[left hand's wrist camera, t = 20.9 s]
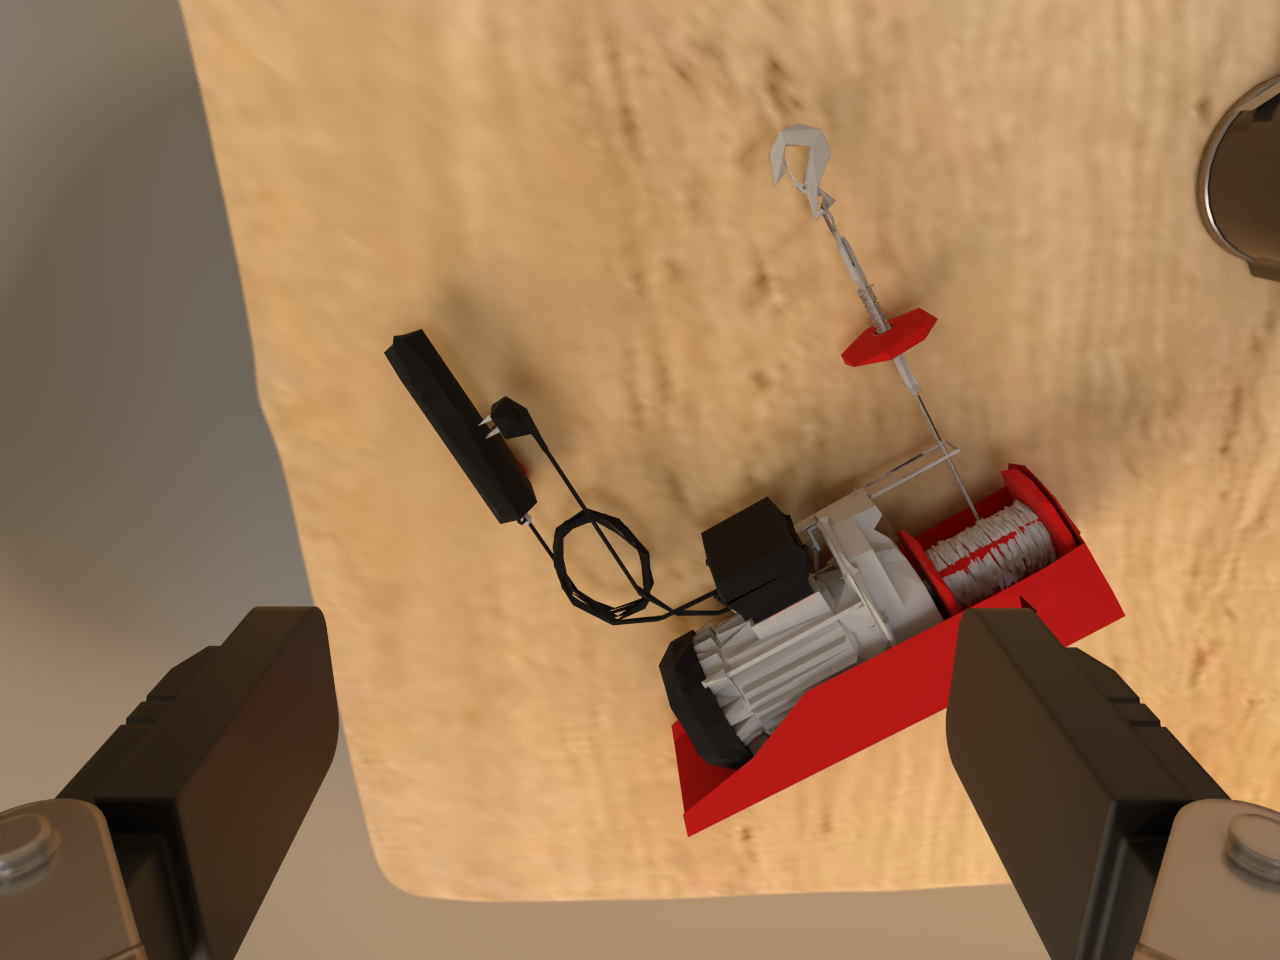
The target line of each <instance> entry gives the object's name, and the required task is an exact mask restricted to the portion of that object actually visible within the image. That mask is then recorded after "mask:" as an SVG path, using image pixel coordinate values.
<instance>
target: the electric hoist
mask: <svg viewBox="0 0 1280 960" xmlns="http://www.w3.org/2000/svg"><path fill="white" fill-rule="evenodd" d="M793 145H802V146H809V152H808V158H807V164H806V169H805V175H804V176H803V177H804V181H803V183H799V182H796V180H795V178H794V176H793V174H792V172H791V170H790V168H789V166H788V164H787V162H786V161H785V146H793ZM769 153H770V160H771V168H772V175H773V183H774V187H775V186H776V184H777V183H778V182H779V180H780V179H781V178H782V176H783V175H784V166H786V168H787V170H788V172H789V174H790V176H791V178H792V180H793V182H794V185H795V187H796V188H797V189H799V190H800V191H801V192H803V193H804V194H805V195H806V196H807V197H808V201H809V204H810V207H811V211H812V214H813V217H814V220H816V219H817V218H819V217H820V216H822V215H823V217H824V219H825V221H826V222H827V224H828V226H829V228H830V230H831V232H832V234H833V236H834V238H835V240H836V241H837V243H836V245H837V247H838V250H839V252H840V254H841V256H842V259H843V261H844V263H845V266H846V268H847V270H848V273H849V275H850V277H851V279H852V281H853V282H854V283H855V284H856V286H857V287H858V288H859V289H860V290H858V291H857V292H856V293H855V294H854V295H857V294H859V296H860V298H861V299H862V300H863V298H864V297H865V298H864V300H863V301H861V302H864V303H863V304H865V305H864V306H866V307H865V308H867V312H869V314H870V315H869V317H870V316H872V317H873V316H874V318H875V319H872V317H871V318H870V319H872V320H874V321H875V320H876V322H874V321H873V323H874V324H873V325H875V324H876V325H875V326H873V327H871V328H868V329H866V330H865V331H864V332H863V333H862V334H861V335H860V336H859V337H858V338H857V339H856V340H855V341H854V342H853V343H852V344H851V345H850V346H849V347H848V348H847V349H846V350H845V351H844V352H843V353H842V354H841V356H842V358H843V360H844V362H845V364H847V365H850V366H853V367H856V366H862V365H867V364H872V363H877V362H882V361H887V360H892V359H893V360H894V363H895V365H896V367H897V370H898V372H899V374H900V377H901V379H902V381H903V384H904V385H905V387H906V388H907V389H908V390H909V391H910V393H911V394H912V395H913V396H915V398H916V400H917V402H918V404H919V406H920V408H921V410H922V412H923V414H924V416H925V418H926V420H927V422H928V424H929V426H930V428H931V430H932V432H933V434H934V436H935V438H936V440H937V442H938V444H937V445H935V446H933V447H932V448H930V449H928V450H926V451H925V452H923V453H921V454H919V455H918V456H916V457H914V458H912V459H911V460H909V461H907V462H905V463H904V464H902V465H900V466H898V467H897V468H895V469H893V470H891V471H890V472H888V473H886V474H884V475H883V476H881V477H879V478H877V479H876V480H874V481H872V482H870V483H869V484H867V485H865V486H863V487H862V488H860V489H858V490H857V489H855V488H854V487H853V491H854V492H852V493H851V494H849V495H847V496H845V497H843V498H841V499H840V500H838V501H836V502H834V503H832V504H831V505H829V506H827V507H825V508H824V509H822V510H820V511H818V512H816V513H815V514H813V515H811V516H809V517H807V518H806V519H804V520H802V521H800V522H798V523H797V524H795V525H793V522H792V519H790V516H791V515H785V514H783V513H782V512H781V511H780V510H779V509H778V508H777V507H776V505H775V504H774V503H773V502H772V501H771V500H770V499H769V498H768V497H766V498H764V499H762V500H761V501H759V502H757V503H755V504H753V505H751V506H750V507H748V508H746V509H744V510H742V511H741V512H739V513H737V514H735V515H733V516H731V517H730V518H728V519H726V520H724V521H722V522H721V523H719V524H717V525H715V526H713V527H712V528H710V529H708V530H706V531H704V532H702V533H701V535H702V540H703V544H704V549H705V553H706V558H707V559H706V565H708V566H709V568H710V570H711V573H712V576H713V578H714V581H715V584H716V588H717V589H715V590H713V591H711V592H709V593H707V594H705V595H703V596H701V597H699V598H697V599H695V600H693V601H691V602H689V603H687V604H685V605H683V606H681V607H679V608H677V609H675V610H673V609H671V608H670V607H668V606H667V605H665V604H664V603H663V602H661V601H660V600H658V599H657V598H655V597H654V596H652V595H651V594H650V591H651V588H652V586H653V584H654V581H653V577H652V573H651V569H650V558H649V551H648V550H647V549H646V548H645V547H644V546H643V545H642V544H641V543H640V541H639V540H638V539H637V538H636V537H635V536H634V534H633V533H632V532H631V531H630V530H629V528H628V527H627V526H625V525H624V524H623V522H622V521H621V520H620V519H619V518H616V517H612V516H609V515H607V514H603V513H600V512H597V511H593V510H590V509H587V508H586V506H585V505H584V503H583V502H582V500H581V499H580V497H579V496H578V494H577V493H576V491H575V490H574V488H573V487H572V485H571V484H570V482H569V480H568V479H567V477H566V476H565V474H564V473H563V471H562V470H561V468H560V467H559V465H558V464H557V462H556V461H555V459H554V458H553V456H552V455H551V453H550V451H549V450H548V447H547V445H546V444H545V442H544V440H543V439H542V437H541V435H540V433H539V431H538V429H537V427H536V426H535V424H534V422H533V420H532V418H531V416H530V414H529V412H528V410H527V409H526V408H525V407H523V406H521V405H520V404H518V403H516V402H515V401H513V400H511V399H509V398H508V397H506V396H505V397H503V398H502V399H500V400H499V401H497V402H496V403H494V404H493V405H492V408H491V414H490V415H489V416H488V417H487V418H486V419H484V420H483V418H482V417H481V416H480V414H479V413H478V411H477V410H476V408H475V407H474V405H473V404H472V402H471V401H470V399H469V398H468V396H467V395H466V394H465V392H464V391H463V389H462V388H461V386H460V385H459V383H458V382H457V380H456V379H455V377H454V376H453V374H452V373H451V371H450V370H449V369H448V367H447V366H446V364H445V363H444V361H443V360H442V358H441V357H440V355H439V354H438V352H437V351H436V349H435V348H434V346H433V345H432V344H431V342H430V341H429V339H428V338H427V336H426V335H425V333H424V332H423V330H422V329H421V330H417V331H414V332H411V333H408V334H405V335H399V336H394V339H393V345H392V346H391V347H389V348H388V349H387V350H386V351H385V352H384V354H385V355H386V357H387V359H388V360H389V362H390V363H391V365H392V367H393V368H394V370H395V372H396V373H397V375H398V377H399V378H400V380H401V381H402V383H403V384H404V386H405V387H406V389H407V390H408V391H409V393H410V394H411V396H412V397H413V399H414V400H415V401H416V403H417V404H418V406H419V407H420V409H421V410H422V411H423V413H424V414H425V416H426V417H427V419H428V420H429V422H430V423H431V424H432V426H433V427H434V429H435V430H436V432H437V433H438V435H439V436H440V437H441V439H442V440H443V442H444V443H445V445H446V446H447V448H448V449H449V450H450V452H451V453H452V455H453V456H454V458H455V459H456V461H457V462H458V464H459V465H460V466H461V468H462V469H463V471H464V472H465V474H466V475H467V477H468V478H469V479H470V481H471V482H472V484H473V485H474V487H475V488H476V490H477V491H478V492H479V494H480V495H481V497H482V498H483V500H484V501H485V503H486V504H487V505H488V507H489V508H490V510H491V511H492V513H493V514H494V516H495V517H496V518H497V520H498V521H499V523H500V524H503V523H507V522H511V521H515V520H517V522H518V523H519V524H521V525H523V524H525V525H529V526H530V528H531V529H532V531H533V532H534V534H535V535H536V537H537V538H538V540H539V541H540V542H541V544H542V545H543V547H544V548H545V550H546V551H547V553H548V554H549V555H550V557H551V558H552V560H553V561H554V568H555V570H556V573H557V575H558V578H559V580H560V583H561V587H562V589H563V590H564V592H565V593H566V595H567V596H568V598H569V600H570V601H571V603H572V604H573V605H574V606H576V607H578V608H580V609H582V610H584V611H586V612H588V613H590V614H592V615H594V616H596V617H598V618H600V619H601V620H603V621H605V622H607V623H609V624H611V625H621V624H633V623H644V622H655V621H660V620H663V619H666V618H668V617H670V616H672V615H674V614H675V615H677V616H694V615H721V614H723V613H726V612H728V611H730V610H732V611H734V612H735V613H738V614H737V615H735V616H733V617H731V618H729V619H727V620H725V621H724V622H722V623H720V624H718V625H716V626H714V625H713V623H712V622H711V621H710V622H709V623H707V624H706V625H705V626H703V627H702V628H700V629H699V630H697V631H696V632H694V631H693V630H691V631H690V632H688V633H686V634H684V635H683V636H681V637H679V638H677V639H675V640H674V641H672V642H670V644H669V646H668V648H667V650H666V652H665V654H664V656H663V658H662V660H661V662H660V664H659V668H660V671H661V675H662V678H663V682H664V685H665V689H666V692H667V696H668V700H669V704H670V708H671V709H672V711H673V712H674V714H675V716H676V717H677V719H678V720H677V721H676V722H675V723H674V724H673V725H672V732H673V738H674V744H675V751H676V758H677V764H678V771H679V778H680V785H681V792H682V799H683V806H684V812H685V813H684V814H683V816H684V821H685V825H686V830H687V834H688V837H690V836H692V835H694V834H696V833H698V832H700V831H702V830H704V829H706V828H708V827H710V826H712V825H714V824H716V823H718V822H720V821H722V820H724V819H726V818H728V817H730V816H732V815H734V814H736V813H738V812H740V811H742V810H744V809H746V808H748V807H750V806H752V805H754V804H756V803H758V802H760V801H762V800H764V799H766V798H767V797H769V796H771V795H773V794H775V793H777V792H779V791H781V790H783V789H785V788H787V787H789V786H791V785H793V784H795V783H797V782H799V781H801V780H803V779H805V778H807V777H809V776H811V775H813V774H815V773H817V772H819V771H821V770H823V769H825V768H827V767H829V766H831V765H833V764H835V763H837V762H839V761H841V760H843V759H845V758H847V757H849V756H851V755H853V754H855V753H857V752H859V751H861V750H863V749H865V748H867V747H869V746H871V745H873V744H875V743H877V742H879V741H881V740H883V739H885V738H887V737H889V736H891V735H893V734H895V733H897V732H899V731H901V730H903V729H905V728H907V727H909V726H911V725H913V724H915V723H917V722H919V721H921V720H923V719H925V718H927V717H929V716H931V715H933V714H935V713H937V712H939V711H941V710H943V709H945V708H947V705H948V698H949V691H950V684H951V677H952V670H953V662H954V655H955V648H956V641H957V634H958V627H959V622H960V619H961V616H962V614H963V613H964V611H965V610H966V609H968V608H1030V609H1032V610H1033V611H1034V612H1035V613H1036V614H1037V615H1038V616H1039V617H1040V619H1041V620H1042V621H1043V622H1044V623H1045V625H1046V626H1047V627H1048V628H1049V629H1050V630H1051V632H1052V633H1053V634H1054V635H1055V636H1056V637H1057V639H1058V640H1059V641H1060V642H1061V643H1062V645H1063V646H1064V647H1067V646H1069V645H1071V644H1073V643H1075V642H1076V641H1078V640H1080V639H1082V638H1084V637H1086V636H1088V635H1090V634H1092V633H1094V632H1096V631H1098V630H1099V629H1101V628H1103V627H1105V626H1107V625H1109V624H1111V623H1113V622H1115V621H1117V620H1119V619H1120V618H1122V617H1124V616H1125V614H1124V612H1123V610H1122V608H1121V606H1120V604H1119V603H1118V601H1117V599H1116V597H1115V595H1114V593H1113V591H1112V589H1111V588H1110V586H1109V584H1108V582H1107V581H1106V579H1105V577H1104V575H1103V574H1102V572H1101V570H1100V568H1099V567H1098V565H1097V563H1096V561H1095V560H1094V558H1093V556H1092V554H1091V553H1090V551H1089V549H1088V547H1087V546H1086V544H1085V542H1084V541H1083V539H1082V538H1081V536H1080V535H1079V534H1080V533H1081V532H1080V531H1079V530H1078V528H1077V527H1076V526H1075V524H1074V523H1073V522H1072V520H1071V519H1070V518H1069V517H1068V515H1067V514H1066V513H1065V511H1064V510H1063V509H1062V507H1061V505H1060V504H1059V502H1058V501H1057V499H1056V498H1055V497H1054V496H1053V495H1052V494H1051V493H1050V491H1049V490H1048V489H1047V488H1046V487H1045V486H1044V485H1043V484H1042V483H1041V482H1040V481H1039V480H1038V479H1037V478H1036V477H1035V476H1034V475H1033V474H1032V473H1031V471H1030V470H1029V469H1028V468H1027V467H1026V466H1025V465H1017V464H1008V470H1005V471H1001V473H1002V476H1003V478H1004V480H1005V483H1006V485H1007V486H1006V487H1004V488H1002V489H1001V490H999V491H997V492H995V493H994V494H992V495H990V496H988V497H986V498H985V499H983V500H981V501H979V502H977V503H976V504H974V505H973V504H972V502H971V500H970V498H969V496H968V494H967V492H966V490H965V488H964V485H963V483H962V481H961V479H960V477H959V475H958V473H957V471H956V469H955V467H954V465H953V463H952V461H951V459H950V457H951V456H953V455H954V454H956V453H958V452H960V450H959V449H958V448H956V447H955V446H954V445H952V444H951V443H949V442H948V441H946V440H944V441H941V439H940V437H939V435H938V433H937V431H936V429H935V427H934V425H933V423H932V421H931V419H930V417H929V415H928V413H927V411H926V409H925V407H924V404H923V402H922V400H921V398H920V396H919V394H918V392H920V391H921V390H920V387H919V384H918V382H917V380H916V378H915V376H914V374H913V372H912V370H911V368H910V366H909V364H908V362H907V360H906V358H905V356H904V355H903V352H905V351H907V350H908V349H910V348H911V347H913V346H915V345H916V344H918V343H919V342H921V341H923V340H924V339H925V338H926V337H927V335H928V334H929V332H930V330H931V329H932V327H933V326H934V324H935V323H936V321H937V318H936V317H934V316H932V315H931V314H929V313H927V312H926V311H924V310H922V309H921V308H917V309H915V310H912V311H910V312H908V313H905V314H903V315H900V316H898V317H895V318H893V319H890V320H888V321H887V320H886V317H885V315H884V314H883V312H880V311H882V310H881V309H882V308H880V307H881V306H879V304H878V303H879V302H877V298H875V297H876V296H874V295H875V294H874V295H873V296H871V295H872V293H873V292H874V291H872V289H871V287H872V286H873V285H874V284H873V285H869V286H868V283H867V280H866V278H865V275H864V273H863V271H862V269H861V267H860V265H859V263H858V261H857V259H856V257H855V254H854V252H853V250H852V248H851V246H850V244H849V243H848V242H847V240H846V239H845V237H842V238H841V236H840V234H839V232H838V230H837V228H836V225H835V222H834V218H833V216H832V215H831V213H830V212H829V210H828V208H829V207H830V206H831V205H832V204H833V203H834V202H835V201H836V200H835V199H833V198H832V197H831V196H829V195H828V194H827V193H825V192H824V191H823V190H821V189H820V188H819V187H817V186H818V184H819V182H820V180H821V177H822V175H823V173H824V170H825V168H826V166H827V163H828V161H829V159H830V156H831V154H832V153H831V151H830V148H829V146H828V144H827V142H826V139H825V137H824V135H823V133H822V130H820V129H817V128H813V127H809V126H806V125H802V124H795V125H793V126H791V127H789V128H786V129H784V130H782V131H780V133H779V135H778V137H777V139H776V141H775V143H774V145H773V147H772V148H771V150H770V152H769ZM821 195H823V198H822V203H821V209H820V210H819V211H818V196H821ZM826 212H827V213H826ZM827 214H828V215H829V217H830V218H831V220H832V224H833V226H832V224H831V222H830V220H829V218H828V216H827ZM826 217H827V218H826ZM827 219H828V220H827ZM869 288H870V289H869ZM868 289H869V290H868ZM870 290H871V291H870ZM868 291H870V292H868ZM871 292H872V293H871ZM861 293H863V294H861ZM870 293H871V294H870ZM860 294H861V295H862V296H861V295H860ZM863 295H864V296H863ZM872 297H873V298H872ZM865 299H866V300H865ZM873 299H874V300H873ZM872 300H873V301H872ZM874 301H875V302H874ZM865 302H866V303H865ZM874 303H875V304H874ZM876 303H877V304H876ZM866 304H868V305H866ZM877 305H878V306H877ZM867 306H869V307H867ZM876 306H877V308H876ZM878 307H879V308H878ZM868 308H870V309H868ZM879 309H880V310H879ZM868 310H869V311H868ZM870 310H871V311H870ZM878 310H879V311H878ZM871 312H872V313H871ZM879 312H880V313H879ZM872 314H873V315H872ZM880 314H881V316H883V317H884V318H883V317H881V316H880ZM882 318H883V319H882ZM883 320H884V321H883ZM491 420H493V422H494V423H495V425H496V426H497V427H496V426H495V425H494V426H493V428H492V429H491V430H490V429H489V427H488V426H487V424H486V422H488V421H491ZM499 432H501V433H502V435H503V436H504V437H505V439H510V438H515V437H519V436H524V435H528V434H532V435H533V437H534V438H535V439H536V441H537V443H538V444H539V446H540V447H541V449H542V450H543V451H544V453H546V455H547V456H548V458H549V459H550V461H551V462H552V464H553V465H554V467H555V468H556V470H557V471H558V473H559V474H560V476H561V477H562V479H563V480H564V482H565V483H566V485H567V486H568V488H569V490H570V491H571V493H572V494H573V496H574V497H575V499H576V500H577V502H578V503H579V505H580V506H581V508H582V509H583V510H582V511H580V512H579V513H577V514H576V515H574V516H573V517H572V518H570V519H569V520H567V521H565V522H564V523H563V524H561V525H560V526H558V527H557V528H556V531H555V535H554V543H553V553H552V552H551V550H550V549H549V547H548V546H547V545H546V543H545V542H544V540H543V539H542V537H541V536H540V535H539V533H538V532H537V530H536V529H535V527H534V526H533V524H532V523H531V516H530V515H529V514H528V513H527V512H528V511H529V510H530V509H531V508H532V507H533V506H534V505H535V504H536V503H537V500H536V497H535V494H534V491H533V488H532V485H531V482H530V481H529V479H528V478H527V476H526V471H525V469H524V467H523V466H522V464H520V463H518V462H517V460H516V458H515V457H514V455H513V454H512V452H511V450H510V449H509V447H508V446H507V444H506V442H505V441H504V439H503V438H502V436H501V434H500V433H499ZM945 443H947V444H948V445H950V446H951V447H953V448H954V449H955V450H954V451H953V452H951V453H949V454H948V453H947V451H946V449H945V447H944V444H945ZM938 447H940V448H941V450H942V452H943V454H944V456H943V457H941V458H940V459H938V460H936V461H934V462H932V463H930V464H928V465H927V466H925V467H923V468H921V469H919V470H917V471H915V472H913V473H912V474H910V475H908V476H906V477H904V478H902V479H900V480H899V481H897V482H895V483H893V484H891V485H889V486H887V487H886V488H884V489H882V490H880V491H878V492H876V493H874V494H872V495H870V493H869V492H868V491H867V490H866V489H865V488H866V487H868V486H870V485H872V484H873V483H875V482H877V481H879V480H881V479H882V478H884V477H886V476H888V475H890V474H891V473H893V472H895V471H897V470H899V469H900V468H902V467H904V466H906V465H908V464H909V463H911V462H913V461H915V460H917V459H918V458H920V457H922V456H924V455H926V454H927V453H929V452H931V451H933V450H935V449H936V448H938ZM945 459H946V460H947V462H948V464H949V466H950V468H951V470H952V472H953V474H954V476H955V478H956V480H957V482H958V484H959V486H960V488H961V490H962V492H963V494H964V496H965V498H966V500H967V502H968V504H969V506H970V507H968V508H967V509H965V510H963V511H961V512H960V513H958V514H956V515H954V516H952V517H951V518H949V519H947V520H945V521H943V522H942V523H940V524H938V525H936V526H934V527H933V528H931V529H929V530H927V531H926V532H924V533H922V534H920V535H918V536H917V537H915V538H913V537H912V536H911V535H910V534H908V533H907V532H906V531H905V530H904V529H903V530H901V531H899V532H898V533H897V536H898V537H899V539H900V541H901V542H902V545H900V546H899V547H898V546H897V544H896V543H895V542H894V541H893V540H891V539H890V538H888V537H887V536H885V535H883V534H881V533H879V532H878V531H876V530H874V529H875V527H876V525H877V524H878V522H879V520H880V518H881V516H882V515H883V514H882V513H881V512H880V511H879V509H878V508H877V507H876V505H875V504H874V503H873V502H872V500H871V499H874V498H876V497H878V496H880V495H882V494H884V493H885V492H887V491H889V490H891V489H893V488H894V487H896V486H898V485H900V484H902V483H904V482H905V481H907V480H909V479H911V478H913V477H914V476H916V475H918V474H920V473H922V472H924V471H925V470H927V469H929V468H931V467H933V466H934V465H936V464H938V463H940V462H942V461H944V460H945ZM870 498H871V499H870ZM583 515H584V516H583ZM595 521H596V522H598V523H599V524H601V525H603V526H605V527H606V528H608V529H610V530H612V531H613V532H615V533H617V534H618V535H619V536H621V537H622V538H623V539H624V540H626V541H627V542H628V543H629V544H630V545H632V546H633V547H634V548H635V549H637V551H638V553H639V556H640V561H641V565H642V576H643V587H644V589H642V588H641V587H639V586H638V585H637V584H636V583H635V581H634V580H633V578H632V577H631V575H630V574H629V572H628V571H627V569H626V567H625V566H624V564H623V563H622V561H621V560H620V558H619V557H618V555H617V554H616V552H615V551H614V549H613V548H612V546H611V545H610V543H609V542H608V540H607V538H606V537H605V535H604V534H603V532H602V531H601V529H600V528H599V526H598V525H597V523H596V522H595ZM590 522H591V523H592V524H593V526H594V527H595V529H596V531H597V532H598V534H599V535H600V537H601V538H602V540H603V541H604V543H605V544H606V546H607V547H608V549H609V550H610V552H611V553H612V555H613V556H614V558H615V559H616V561H617V562H618V564H619V565H620V567H621V569H622V570H623V572H624V573H625V575H626V576H627V578H628V579H629V581H630V582H631V584H632V585H633V587H634V588H635V590H636V591H637V593H638V594H639V596H641V597H642V598H641V599H638V600H636V601H633V602H630V603H628V604H625V605H622V606H619V607H616V608H614V607H611V606H608V605H605V604H602V603H600V602H597V601H594V600H593V599H591V598H590V597H588V596H587V595H585V594H584V593H582V592H580V591H579V590H578V589H577V588H576V586H575V585H574V584H573V582H572V581H571V579H570V578H569V576H568V575H567V572H566V567H565V563H564V558H563V538H564V537H565V536H566V535H567V534H568V533H569V532H570V531H571V530H572V529H573V528H576V527H579V526H581V525H584V524H586V523H590ZM804 529H806V530H807V532H808V534H809V536H810V538H811V540H812V542H813V544H814V546H815V547H816V549H817V551H818V552H819V551H820V550H821V549H820V547H819V546H818V544H817V542H816V540H815V538H814V537H813V535H812V533H811V530H815V529H818V530H819V532H820V533H821V535H822V537H823V538H824V540H825V542H826V544H827V545H828V547H829V549H830V551H831V552H832V554H833V557H832V558H831V559H830V560H829V561H828V562H827V564H828V565H827V566H826V567H824V568H822V569H821V570H819V562H818V561H819V554H818V552H817V551H814V552H813V553H814V554H818V556H816V555H814V558H818V560H814V563H818V564H815V565H814V566H815V567H818V569H817V568H815V571H817V572H815V573H813V574H811V573H810V570H811V566H812V561H811V558H810V555H809V552H808V549H809V547H808V546H807V545H806V544H804V545H802V543H801V541H800V539H799V537H798V535H797V533H799V532H801V531H803V530H804ZM632 542H633V543H634V544H635V545H634V544H633V543H632ZM814 546H813V550H816V549H814ZM816 552H817V553H816ZM815 556H816V557H815ZM833 568H835V570H832V571H831V569H833ZM827 571H829V572H827ZM815 578H817V580H815ZM573 592H574V593H576V594H577V595H576V594H574V593H573ZM572 594H574V595H575V596H577V597H578V598H579V599H581V600H582V601H584V602H585V603H586V604H585V603H583V602H581V601H580V600H578V599H577V598H575V597H574V596H573V595H572ZM578 595H579V596H578ZM711 596H713V597H714V599H717V598H718V599H717V600H718V601H719V602H721V603H722V604H724V605H725V606H727V607H726V608H724V609H722V610H720V611H687V610H685V609H687V608H689V607H691V606H693V605H695V604H697V603H699V602H701V601H703V600H705V599H707V598H709V597H711ZM649 601H651V602H652V603H654V604H656V605H658V606H660V607H662V608H664V609H666V610H667V611H669V612H668V613H666V614H664V615H661V616H652V617H642V618H632V619H623V618H625V617H628V616H630V615H632V614H634V613H636V612H639V611H641V610H643V609H645V608H646V606H647V604H648V602H649ZM631 604H632V605H631ZM628 605H629V606H628ZM624 606H626V607H624ZM621 607H623V608H621ZM617 608H620V609H617ZM614 609H617V610H614ZM610 610H614V611H610ZM624 610H626V611H624ZM620 611H624V612H623V613H621V614H620V615H616V614H614V613H617V612H620ZM622 615H623V616H622ZM618 616H622V617H620V618H619V619H616V618H614V617H618ZM621 619H623V620H621Z"/></svg>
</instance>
